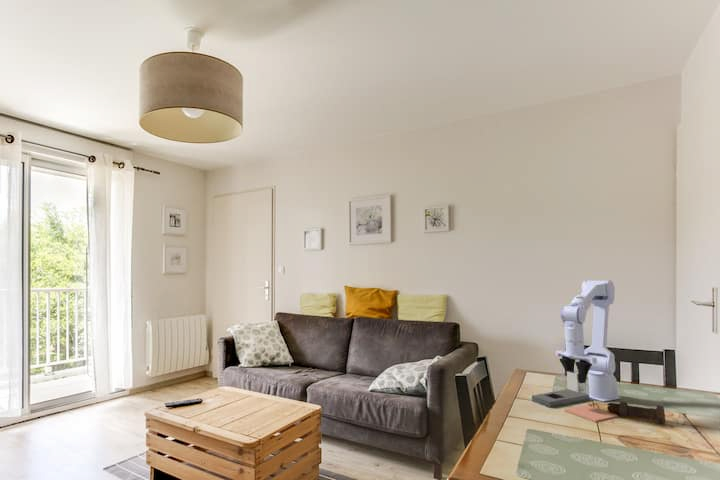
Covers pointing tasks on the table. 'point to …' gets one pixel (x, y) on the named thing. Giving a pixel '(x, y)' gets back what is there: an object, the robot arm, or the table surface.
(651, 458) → the table surface
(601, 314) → the robot arm
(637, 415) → the bolt
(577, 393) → the block
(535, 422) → the table surface
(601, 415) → the mat
